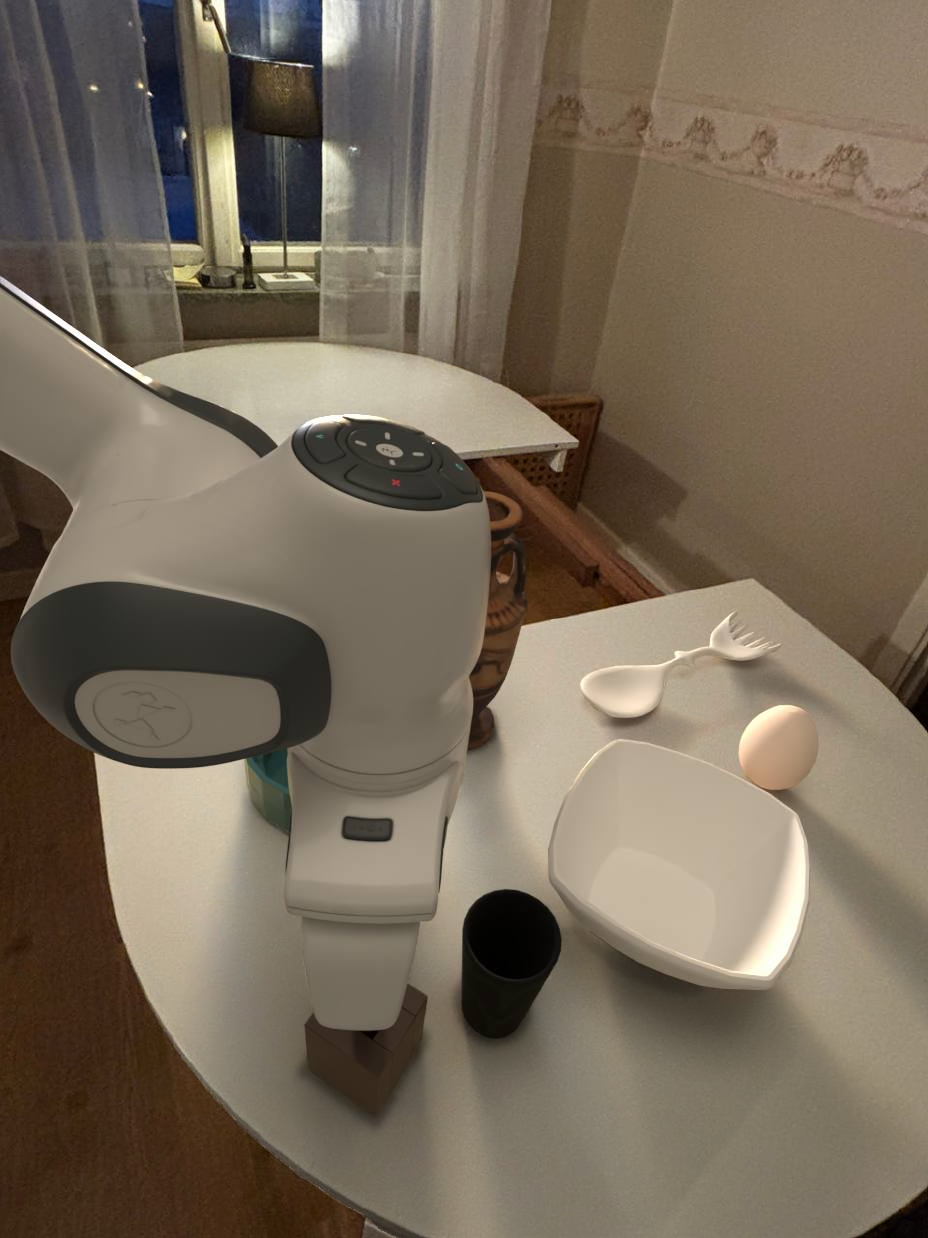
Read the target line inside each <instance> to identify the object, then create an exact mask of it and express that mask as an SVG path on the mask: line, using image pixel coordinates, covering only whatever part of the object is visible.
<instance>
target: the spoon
mask: <svg viewBox="0 0 928 1238" xmlns="http://www.w3.org/2000/svg"><path fill="white" fill-rule="evenodd" d="M738 614H739V611H738V610H736V611H733V612H732V613H730V614H729V615H728V616H726V617H725V618H724V619H723V620H722V621H721V622H720V624H718V625H717V626H716V627H715V628H714V629H713V631H711V634H710V640H709V646H701V647H698V648H695V649H693V650H689V651H682V650H676V651H675V652H674V657H675V658H673V659H671V660H669V661H666V662H664V663H661V664H653V665H614V666H609V667H605V668H604V667H603V668H600V669H597V670H594V671H591V672H589V673H587V674H586V675H585V676H584V677H583V678H582V679H581V682H580V684H579V685H580V686H579V687H580V692H581V695H582V696H583V698H584V699H585V701H586V702H587V703H588V704H589V706H591V707H592V708H593V709H595V710H596V711H598V712H600V713H602V714H604V715H607V716H610V717H614V718H621V719H629V718H630V719H632V718H637V717H641V716H644V715H646V714H648V713H650V712H651V711H653V710H654V709H655V708H657V707H658V705H659V704H660V703H661V700H662V698H663V696H664V692H665V688H666V683H667V679H668V676H669V674H670V673H671V671H672V670H673V669H674V668H676V667H678V666H679V667H680V666H685V667H688V668H690V667H694V665H695V664H696V663H695V661H696V660H697V659H699V658H701V657H704V656H711V657H716V658H720V659H724V660H728V661H738V662H744V661H751V660H754V659H758V658H761V657H763V656H767V655H769V654H772V653H775V652H777V651H778V650H780V648H782V646H783V644H782V643H778V644H776V645H773V646H771V644H773V640H770V641H767V642H765V643H764V644H763V642H764V641H765V639H766V637H761V638H759V639H757V640H755V641H753V642H751V643H749V642H750V641H751V640H752V639H753V638H754V637H755V636H756V634H757V632H756V631H752V632H748V633H746V634H744V635H743V636H739V635H740V634H742V633H743V632H744V630H746V629H747V628H748V626H749V624H744V625H742V626H741V627H739V628H737V627H738V626H739V625H740V624H741V623H742V622H743V620H744V619H743V618H739V619H737V620H735V621H734V622H732V621H733V620H734V619H735V618H736V617H737V616H738ZM735 628H736V629H735ZM748 643H749V644H748ZM761 643H762V644H761ZM760 644H761V645H760Z"/></svg>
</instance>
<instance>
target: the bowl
mask: <svg viewBox="0 0 928 1238" xmlns="http://www.w3.org/2000/svg"><path fill="white" fill-rule="evenodd" d="M558 810H559V811H558V812H557V815H556V818H555V821H554V823H553V827H552V832H551V836H550V841H549V845H548V848H547V863H548V865H547V868H548V870H547V871H548V873H547V874H548V881H549V883H550V885H551V886H552V887H553V889H554V891H555V892H556V894H557V895H558V897H559V898H560V900H561V902H562V903H563V905H564V907H565V908H566V909H567V911H568V913H570V915H572V916H573V917H574V918H575V920H577V922H579V923H580V924H581V925H582V926H583V928H585V929H586V930H588V931H589V932H591V933H592V934H593V935H595V936H596V937H598V938H599V939H601V940H602V941H603V942H605V943H606V944H607V945H609V946H610V947H612V948H613V949H615V950H616V951H618V952H620V953H622V954H623V955H625V956H627V957H628V958H630V959H631V960H634V961H635V962H637V963H639V964H641V965H644V966H646V967H648V968H650V969H652V970H655V971H657V972H660V973H661V974H664V975H667V976H670V977H673V978H676V979H678V980H682V981H685V982H688V983H691V984H694V985H698V986H700V987H708V988H716V989H723V990H724V989H728V990H751V991H768V990H769V989H771V988H772V987H774V985H776V983H777V981H779V979H780V978H781V977H782V976H783V974H785V972H786V971H787V970H788V969H789V968H790V966H791V964H792V961H793V958H794V956H795V953H796V951H797V948H798V946H799V944H800V941H801V939H802V934H803V931H804V926H805V923H806V918H807V914H808V910H809V906H810V893H811V891H810V890H811V862H810V852H809V851H810V850H809V844H808V843H809V842H808V840H807V837H806V833H805V831H804V827H803V825H802V822H801V819H800V817H799V814H798V813H797V812H795V811H794V810H793V809H792V808H790V807H789V806H788V805H786V804H785V803H784V802H782V801H781V800H779V798H777V797H775V796H774V795H773V794H771V793H769V792H768V791H766V790H764V789H763V788H761V787H759V786H758V785H756V784H754V783H751V782H749V781H748V780H745V779H744V778H742V777H740V776H738V775H736V774H734V773H732V772H730V771H728V770H725V769H724V768H721V767H719V766H717V765H715V764H712V763H711V762H708V761H706V760H702V759H700V758H697V757H695V756H692V755H689V754H686V753H684V752H681V751H678V750H674V749H671V748H668V747H664V746H661V745H657V744H653V743H650V742H646V741H639V740H632V739H625V738H616V739H614V740H612V741H611V742H610V743H608V744H606V745H605V746H603V747H602V748H600V749H599V750H598V751H597V752H595V753H594V754H593V756H591V758H590V759H589V760H588V762H587V763H586V764H585V765H584V766H583V767H582V768H581V770H580V771H579V773H578V775H577V776H576V778H575V779H574V781H573V783H572V784H571V786H570V787H569V788H568V791H567V792H566V794H565V795H564V798H563V800H562V803H561V805H560V808H559V809H558Z"/></svg>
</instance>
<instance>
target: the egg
mask: <svg viewBox="0 0 928 1238" xmlns="http://www.w3.org/2000/svg"><path fill="white" fill-rule="evenodd" d="M818 754H819V733H818V730H817V725H816V723H815V721H814V719H812V717H811V715H810V714H809V713H808V712H807V711H805V710H804V709H802V708H801V707H798V706H795V705H791V704H785V705H783V704H781V705H775V706H773V707H771V708H768V709H766V710H764V711H763V712H761V713H759V714H758V715H757V716H756V717H754V718H753V719H752V720H751V721H750V723H749V724H748V725H747V726H746V727H745V729H744V731H743V733H742V735H741V738H740V740H739V746H738V759H739V764H740V767H741V768H742V771H743V773H744V774H745V776H746V777H747V778H748V779H749V780H750V781H751V782H752V784H753V785H755V786H757V787H759V788H761V789H765V790H770V791H781V790H786V789H788V788H792V787H794V786H796V785H798V784H799V783H801V782H802V781H803V780H804V779H805V778H806V777H807V776H808V775H809V774H810V773H811V771H812V768H813V767H814V765H815V763H816V760H817V758H818Z"/></svg>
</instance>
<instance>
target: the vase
mask: <svg viewBox="0 0 928 1238" xmlns="http://www.w3.org/2000/svg"><path fill="white" fill-rule="evenodd" d="M483 492H484V495H485V497H486V501H487V505H488V509H489V516H490V527H491V570H490V585H489V597H488V607H487V616H486V624H485V632H484V639H483V645H482V649H481V653H480V655H479V658H478V660H477V662H476V665H475V667H474V668H473V670H472V672H471V673H470V675H469V679H470V683H471V687H472V693H473V714H472V720H471V727H470V734H469V741H468V747H467V750H470V749H475V748H478V747H480V746H482V745H483V744H485V743H486V742H487V741H488V740H489V739H490V738H491V737H492V736H493V734H494V730H495V725H496V724H495V716H494V713H493V711H492V709H491V708H490V707H488V706H489V704H491V702H492V701H493V700H494V699H495V698H496V696H497V694H498V693H499V692H500V690H501V688H502V686H503V684H504V682H505V680H506V678H507V676H508V673H509V671H510V668H511V665H512V663H513V659H514V656H515V653H516V648H517V644H518V641H519V637H520V633H521V630H522V625H523V622H524V619H525V617H526V612H527V610H528V607H529V606H528V604H529V603H528V600H529V599H528V596H527V594H526V590H525V588H526V579H527V557H526V552H525V548H524V544H523V542H522V539H521V537H519V535H517V533H514V531H515V530H516V529H517V528H518V526H519V525H520V523H521V521H522V520H523V518H524V512H523V509H522V507H521V505H520V504H519V503H517V502H516V501H515V500H513V498H511V497H509V496H506V495H504V494H502V493H499V492H494V491H485V490H483ZM509 552H513V557H512V559H513V560H512V569H511V573H510V575H509V576H508V575H507V574H505V573H502V572H500V571H498V569H499V566H500V564H501V562H502V559H503V558H504V557H505V556H506V555H507V554H508V553H509Z"/></svg>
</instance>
